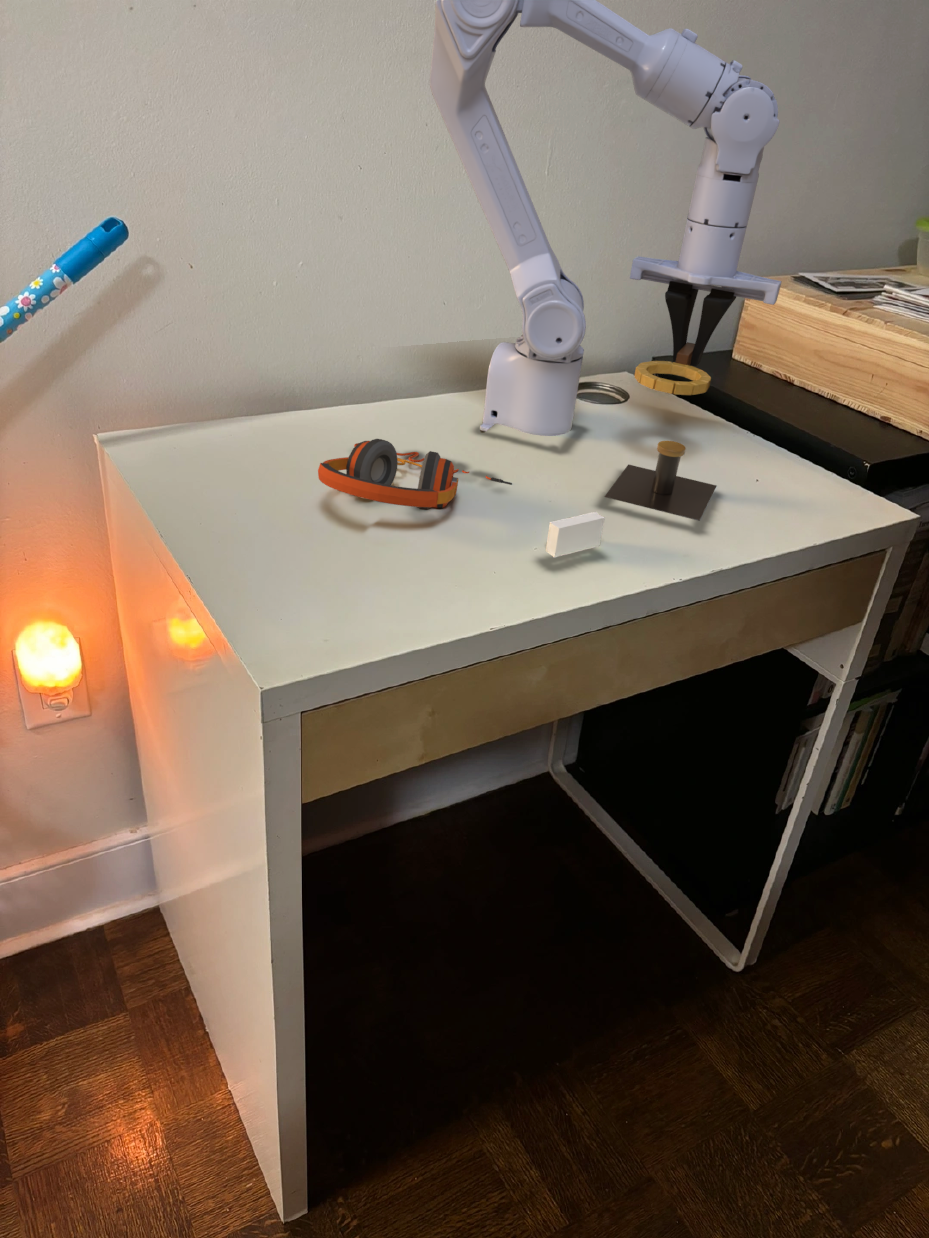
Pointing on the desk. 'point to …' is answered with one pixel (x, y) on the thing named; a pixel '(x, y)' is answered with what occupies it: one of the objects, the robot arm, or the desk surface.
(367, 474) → the headphones
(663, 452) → the stand
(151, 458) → the desk surface
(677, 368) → the ring
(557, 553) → the eraser
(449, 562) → the desk surface
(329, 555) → the desk surface
